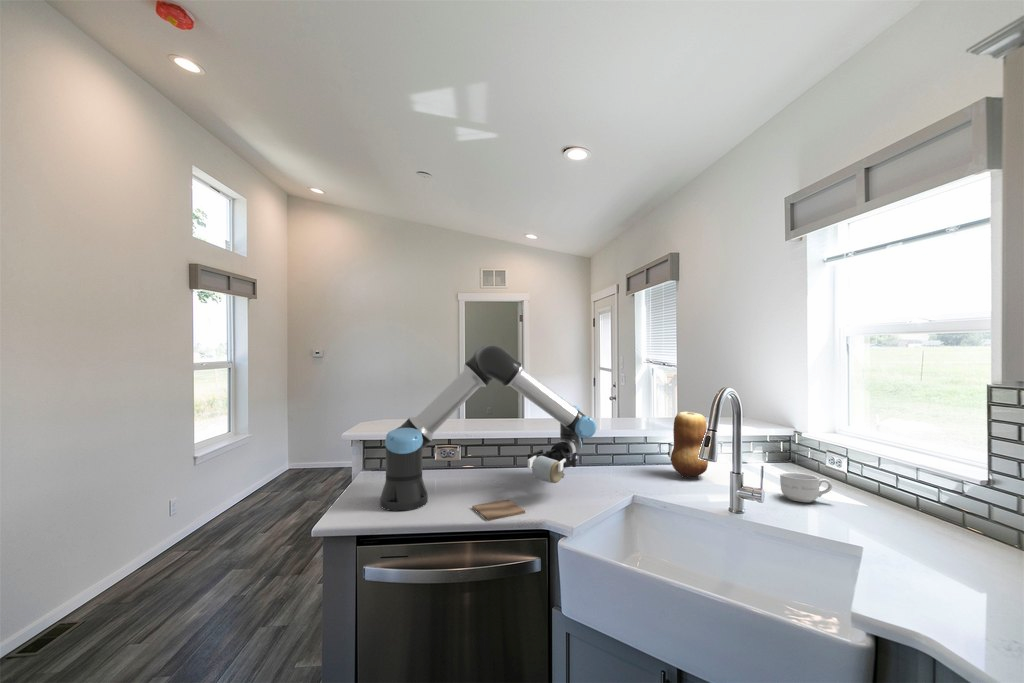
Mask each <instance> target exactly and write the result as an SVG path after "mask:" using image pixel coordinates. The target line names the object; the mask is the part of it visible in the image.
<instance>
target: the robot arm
mask: <svg viewBox="0 0 1024 683" xmlns="http://www.w3.org/2000/svg"><path fill="white" fill-rule="evenodd" d="M493 380H495V381H497V382H499V383H501V384H502V385H503V386H505V387H511V388H512V389H513V390H515V391H517V392H518V393H519V394H520V395H522V396H523V397H524V398H526V399H527V400H529V401H530V402H532V403H533V404H534V405H535V406H537V407H538V408H539V409H541V410H542V411H544V413H546V414H548V415H549V416H551V417H552V418H553V419H555V420H556V421H557V422H559V433H560V435H559V436H560V437H559V440H560V441H557V442H556V443H555V444H553V446H552V447H551V448H550V450H547V451H545V450H544V449H539V450H537V451H535V452H531V453H529V454H527V469H532V467H533V463H534V461H535V459H536V458H537V457H539V456H545V457H548V458H551V459H554V460H557V461H559V463H558V472H561V471H562V470H563V471H564V469H567V468H570V467H572V468H576V467H577V461H578V454H579V453H580V451H581V449H582V446H583V442H582V439H589V438H592V437H593V436H594V435H595V434H596V431H597V423H596V421H595V420H594V419H593V418H591V417H590V416H587V415H585V414H584V413H583V412H582V411H580V407H579V406H577V405H572V404H571V403H569V402H568V401H567V400H566V399H564V398H563V397H562V396H560V395H559V394H558V393H556V392H555V391H553V390H552V389H551V388H550V387H548V386H546V385H545V383H543V382H541V381H540V380H539V379H537V378H536V377H535V376H534V375H532V374H531V373H529V372H528V371H527V370H526V369H524V368H523V364H522V363H521V362H520V361H518V359H516V358H515V357H513V355H511V354H510V353H509V352H508V351H507V350H506V349H504V348H503V347H501V346H500V345H494V344H493V345H485V346H481V347H479V348H478V349H476V351H474V354H473V355H472V356H471V357H470V358H469V360H467V361H466V362H465V363H464V364H463V371H461V373H460V374H458V375H457V376H456V378H455V379H454V380H453V381H451V382H450V383H449V384H448V385H447V386H446V387H445V388H444V389H443V390H442V391H441V392H440V393H439V394H438V395H437V396H436V397H435V398H434V399H433V400H432V401H431V402H430V403H428V404H427V406H426V407H424V408H423V410H422V411H421V412H420V413H419V414H417V415H416V416H411V417H410V416H409V418H408V419H407V420H406V421H404V423H402V424H401V425H400V426H398V427H396V428H395V429H392V430H390V431H388V432H387V434H386V436H385V440H384V445H385V481H384V485H383V488H382V491H381V494H380V498H379V506H380V505H381V507H383V508H385V509H389V510H388V511H390V510H405V511H410V510H409V509H412V510H416V509H418V507H419V508H421V506H422V507H424V506H425V505H427V504H428V502H429V494H428V491H427V487H426V484H425V482H424V479H423V450H425V448H426V447H427V446H428V445H429V444H430V443H431V442H432V441H433V434H434V433H435V432H436V431H437V430H438V429H439V428H440V427H441V426H442V425H443V424H444V423H445V422H446V421H447V420H448V419H449V418H451V416H452V415H453V414H454V413H455V412H456V411H457V410H458V409H459V408H460V407H461V406H463V404H464V403H465V402H467V400H468V399H470V398H471V396H472V395H473V394H474V393H475V392H476V391H478V389H479V388H482V387H484V388H485V387H487V386H488V385H489V384H490V383H491V382H492V381H493ZM426 503H427V504H426ZM423 505H424V506H423ZM381 507H380V508H381ZM383 508H382V509H383ZM415 508H416V509H415ZM385 509H384V510H385Z"/></svg>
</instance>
